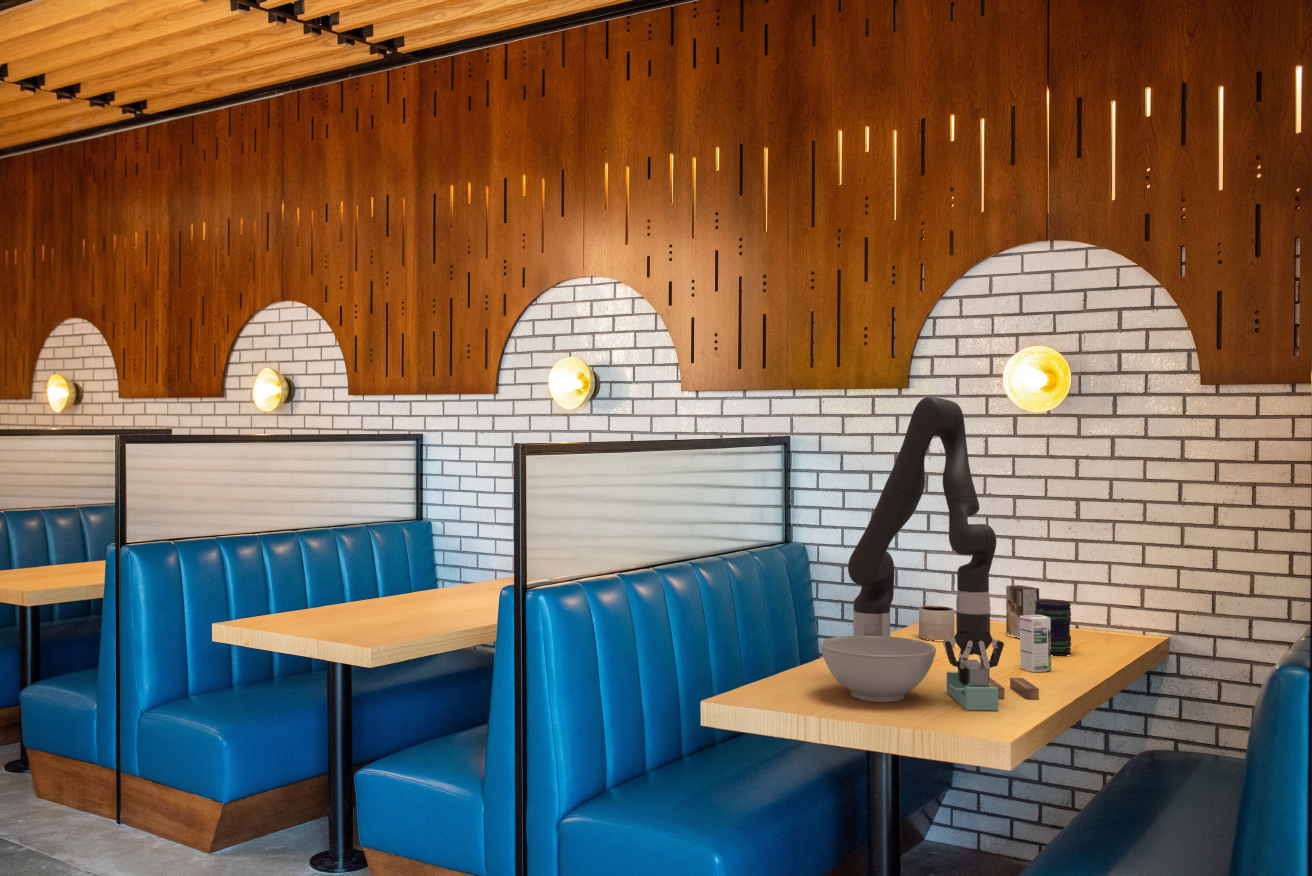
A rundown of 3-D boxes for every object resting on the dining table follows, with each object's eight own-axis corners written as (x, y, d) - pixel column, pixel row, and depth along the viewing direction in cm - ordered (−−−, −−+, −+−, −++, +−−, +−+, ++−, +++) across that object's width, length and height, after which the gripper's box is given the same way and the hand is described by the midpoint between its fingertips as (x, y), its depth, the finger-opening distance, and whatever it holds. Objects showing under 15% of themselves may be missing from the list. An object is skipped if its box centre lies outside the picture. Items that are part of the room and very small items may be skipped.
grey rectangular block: (970, 691, 232) (970, 669, 232) (959, 680, 244) (959, 659, 244) (988, 692, 232) (988, 669, 232) (976, 680, 244) (976, 659, 244)
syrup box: (1033, 673, 271) (1032, 617, 272) (1019, 668, 277) (1019, 614, 277) (1051, 671, 273) (1051, 617, 273) (1037, 667, 279) (1037, 613, 279)
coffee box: (1040, 639, 322) (1040, 588, 323) (1023, 640, 320) (1023, 588, 321) (1021, 634, 331) (1021, 584, 331) (1005, 635, 329) (1005, 585, 329)
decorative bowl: (957, 697, 243) (957, 645, 244) (894, 716, 225) (895, 660, 225) (862, 679, 263) (862, 631, 263) (797, 695, 244) (797, 644, 244)
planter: (917, 640, 319) (917, 609, 319) (919, 635, 329) (919, 605, 329) (954, 642, 316) (954, 611, 316) (954, 637, 326) (954, 606, 326)
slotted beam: (991, 698, 242) (991, 688, 242) (977, 687, 254) (977, 677, 254) (1038, 699, 241) (1038, 688, 241) (1022, 687, 253) (1022, 677, 253)
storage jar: (1036, 656, 295) (1036, 603, 295) (1032, 650, 305) (1032, 599, 305) (1073, 657, 293) (1073, 605, 293) (1068, 651, 302) (1068, 600, 303)
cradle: (966, 710, 230) (966, 688, 230) (946, 692, 248) (946, 671, 248) (998, 711, 230) (998, 688, 230) (975, 692, 248) (975, 671, 248)
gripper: (999, 608, 242) (999, 681, 242) (938, 607, 242) (938, 681, 242) (1009, 613, 235) (1009, 688, 234) (946, 612, 235) (946, 688, 235)
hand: (973, 684), depth 238 cm, fingers closed on grey rectangular block, 4 cm apart
